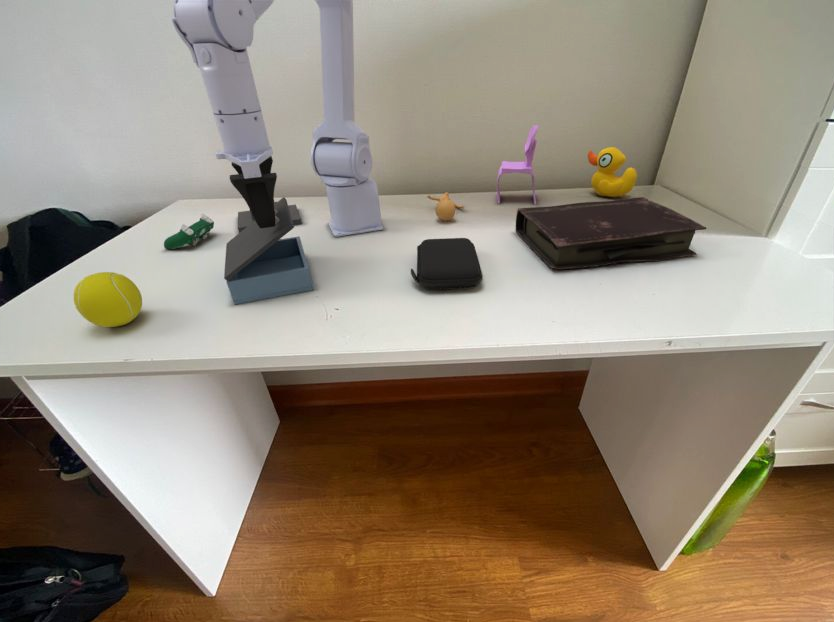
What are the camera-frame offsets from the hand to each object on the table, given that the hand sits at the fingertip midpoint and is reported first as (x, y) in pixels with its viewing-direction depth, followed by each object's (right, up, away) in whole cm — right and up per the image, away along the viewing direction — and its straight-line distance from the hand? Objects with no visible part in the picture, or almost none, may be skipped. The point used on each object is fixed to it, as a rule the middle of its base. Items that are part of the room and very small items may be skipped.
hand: (266, 218), depth 61 cm
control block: (-10, +8, +26) cm, 29 cm away
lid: (-2, -3, +1) cm, 3 cm away
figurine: (+26, +6, +22) cm, 35 cm away
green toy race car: (-21, +1, +18) cm, 28 cm away
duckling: (+64, +16, +35) cm, 74 cm away
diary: (+54, -1, +13) cm, 55 cm away
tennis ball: (-18, -16, -4) cm, 24 cm away
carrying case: (+26, -7, +6) cm, 28 cm away
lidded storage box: (-1, -8, +5) cm, 10 cm away
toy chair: (+43, +15, +34) cm, 57 cm away
